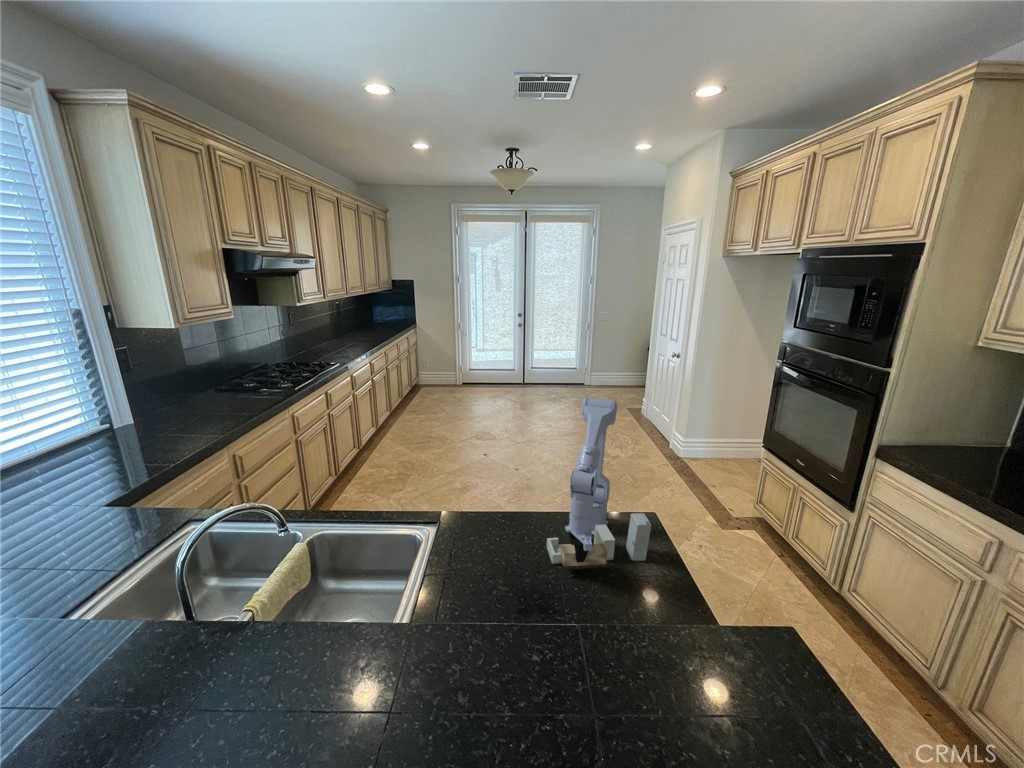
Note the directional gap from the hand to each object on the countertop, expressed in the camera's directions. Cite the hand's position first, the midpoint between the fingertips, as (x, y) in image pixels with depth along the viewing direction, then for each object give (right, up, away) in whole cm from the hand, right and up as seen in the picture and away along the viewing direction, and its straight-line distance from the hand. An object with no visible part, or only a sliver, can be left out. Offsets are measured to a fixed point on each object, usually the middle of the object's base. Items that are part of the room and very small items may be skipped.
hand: (578, 556), depth 110 cm
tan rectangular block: (+1, -2, +1) cm, 2 cm away
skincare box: (+19, -3, +8) cm, 21 cm away
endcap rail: (+2, -3, +8) cm, 9 cm away
